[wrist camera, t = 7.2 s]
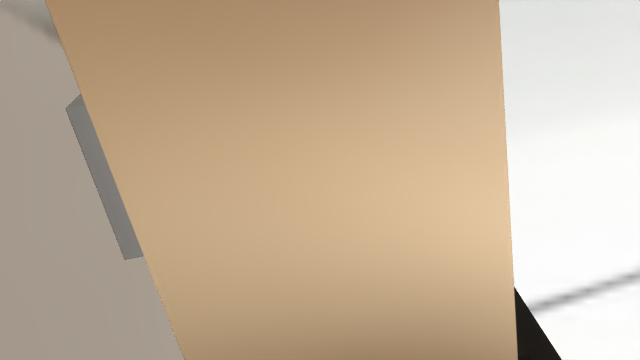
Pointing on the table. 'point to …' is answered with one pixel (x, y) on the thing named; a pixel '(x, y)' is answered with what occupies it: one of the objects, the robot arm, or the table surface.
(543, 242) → the table surface
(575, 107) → the table surface
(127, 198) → the tan long bar
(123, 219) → the fulcrum stand
